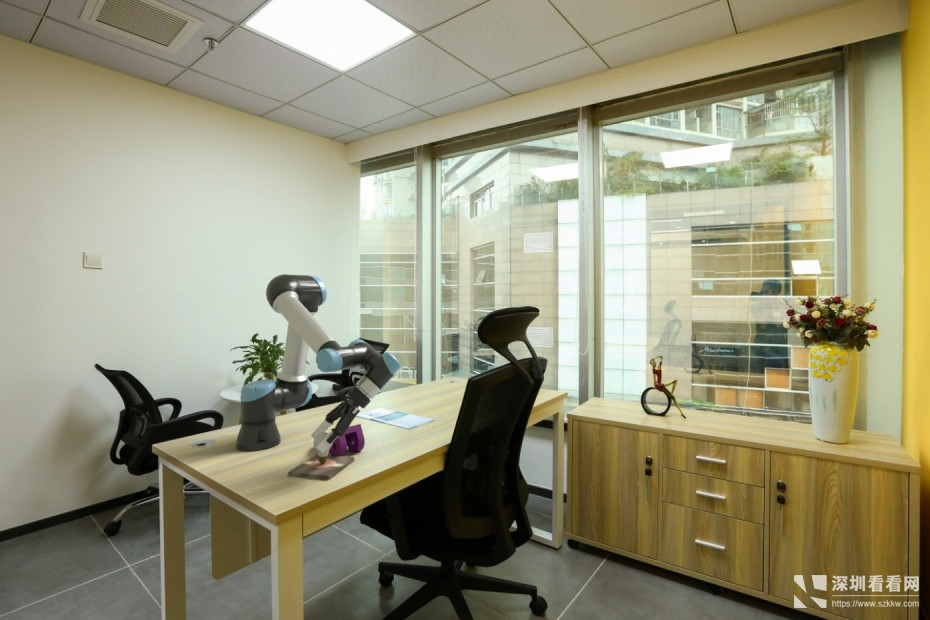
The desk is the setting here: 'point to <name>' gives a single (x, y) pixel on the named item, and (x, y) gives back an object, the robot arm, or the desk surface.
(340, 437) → the mounting bracket
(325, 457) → the light bulb
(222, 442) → the desk surface
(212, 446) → the desk surface
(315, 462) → the board
